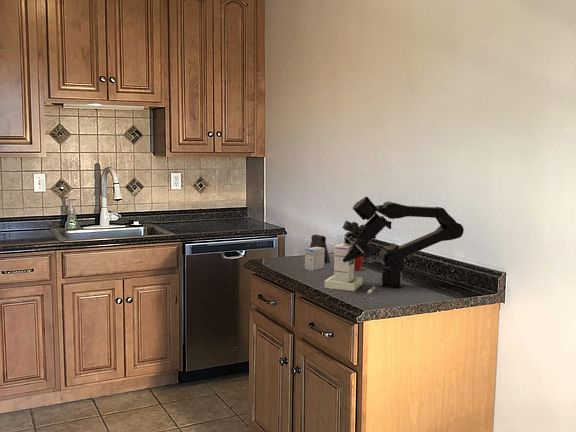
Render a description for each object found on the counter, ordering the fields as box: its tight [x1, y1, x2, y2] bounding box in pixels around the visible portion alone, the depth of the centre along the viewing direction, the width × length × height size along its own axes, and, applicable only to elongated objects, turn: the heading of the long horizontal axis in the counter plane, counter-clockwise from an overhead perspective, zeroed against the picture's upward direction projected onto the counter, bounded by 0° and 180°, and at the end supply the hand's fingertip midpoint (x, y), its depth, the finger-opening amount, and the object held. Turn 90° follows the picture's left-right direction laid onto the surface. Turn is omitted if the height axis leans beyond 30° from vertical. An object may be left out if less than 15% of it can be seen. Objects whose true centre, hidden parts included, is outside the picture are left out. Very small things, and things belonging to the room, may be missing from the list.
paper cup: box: [355, 256, 364, 272], centre depth 265 cm, size 8×8×14 cm
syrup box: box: [333, 243, 356, 283], centre depth 233 cm, size 6×6×14 cm
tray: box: [323, 274, 363, 292], centre depth 234 cm, size 11×11×3 cm
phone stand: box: [309, 234, 331, 265], centre depth 277 cm, size 9×6×12 cm, turn 129°
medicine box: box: [304, 247, 325, 272], centre depth 264 cm, size 8×4×9 cm, turn 141°
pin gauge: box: [366, 286, 377, 295], centre depth 227 cm, size 8×1×1 cm
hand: (340, 259), depth 233 cm, fingers open, 9 cm apart
